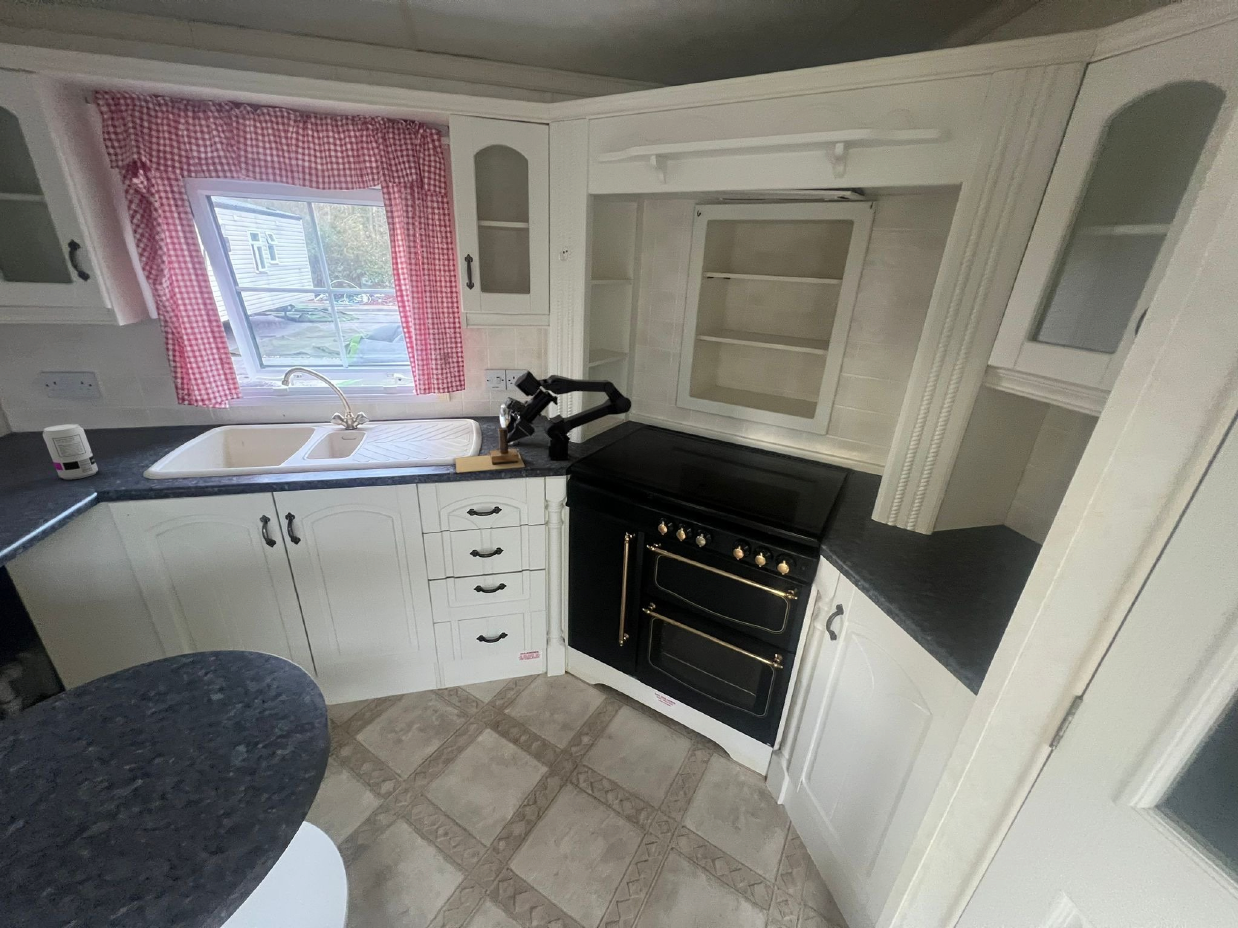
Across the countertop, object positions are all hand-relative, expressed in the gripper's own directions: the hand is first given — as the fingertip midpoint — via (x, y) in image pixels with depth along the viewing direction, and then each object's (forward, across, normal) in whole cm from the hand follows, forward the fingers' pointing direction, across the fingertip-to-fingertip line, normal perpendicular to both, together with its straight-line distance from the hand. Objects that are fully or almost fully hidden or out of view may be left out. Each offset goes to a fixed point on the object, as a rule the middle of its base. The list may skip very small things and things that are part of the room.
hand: (505, 438), depth 168 cm
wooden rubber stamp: (+6, 0, +5) cm, 8 cm away
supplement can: (+94, -19, -81) cm, 126 cm away
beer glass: (+3, -20, +9) cm, 22 cm away
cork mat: (+10, 0, +2) cm, 10 cm away
